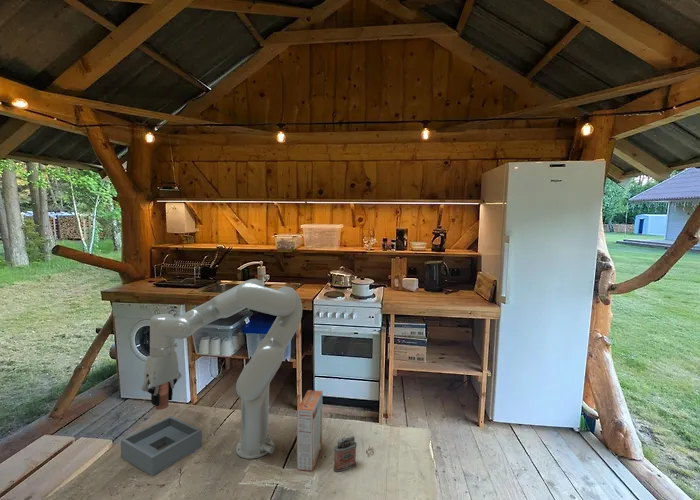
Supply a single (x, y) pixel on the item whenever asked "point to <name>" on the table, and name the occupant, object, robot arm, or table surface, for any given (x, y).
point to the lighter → (345, 454)
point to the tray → (160, 444)
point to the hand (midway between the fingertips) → (162, 401)
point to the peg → (163, 396)
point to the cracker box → (309, 430)
